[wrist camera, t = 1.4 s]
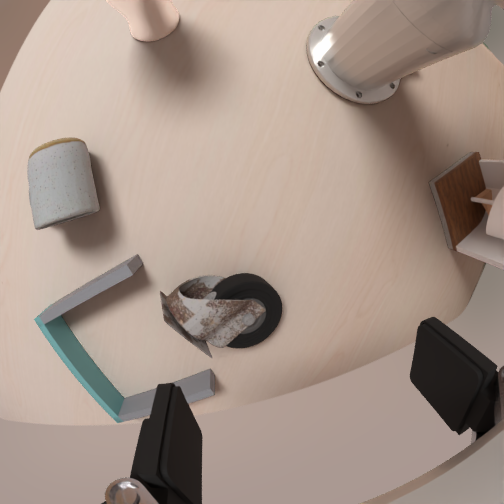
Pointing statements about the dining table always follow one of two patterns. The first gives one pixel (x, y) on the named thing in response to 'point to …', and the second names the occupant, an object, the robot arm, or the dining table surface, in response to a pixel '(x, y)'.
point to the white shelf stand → (473, 207)
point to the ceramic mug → (61, 182)
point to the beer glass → (148, 17)
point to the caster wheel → (223, 310)
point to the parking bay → (87, 369)
